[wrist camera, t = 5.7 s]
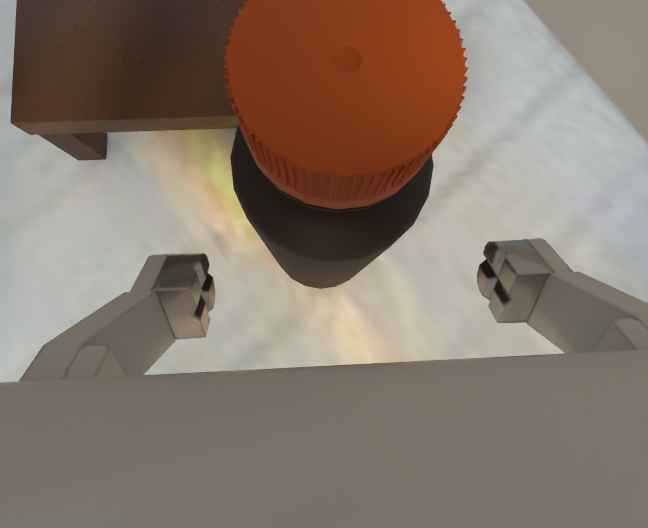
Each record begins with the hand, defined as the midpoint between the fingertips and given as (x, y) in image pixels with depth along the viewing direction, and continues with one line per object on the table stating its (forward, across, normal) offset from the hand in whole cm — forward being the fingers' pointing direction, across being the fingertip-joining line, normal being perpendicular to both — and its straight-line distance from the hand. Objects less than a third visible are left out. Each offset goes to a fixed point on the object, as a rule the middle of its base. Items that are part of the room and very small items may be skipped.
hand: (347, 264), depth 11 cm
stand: (+24, +10, -1) cm, 26 cm away
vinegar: (+14, 0, +9) cm, 16 cm away
